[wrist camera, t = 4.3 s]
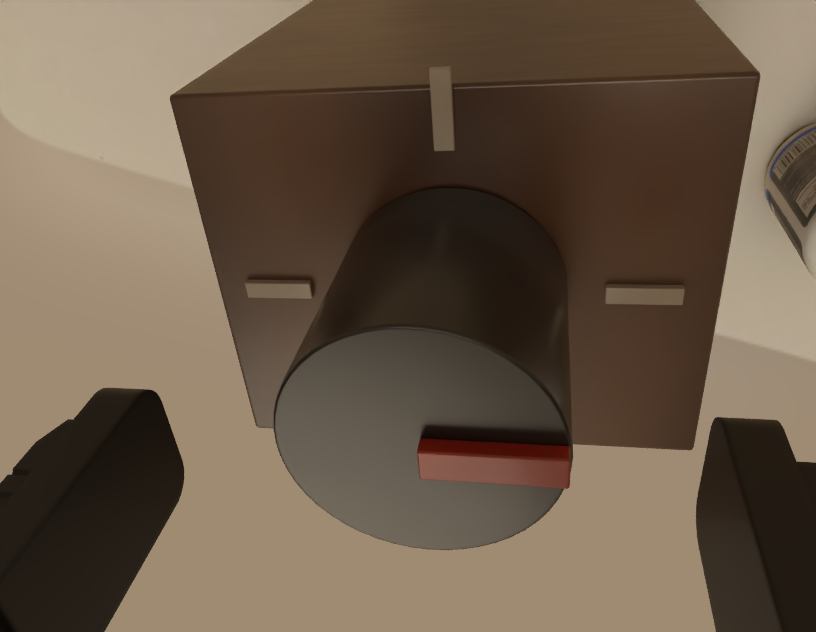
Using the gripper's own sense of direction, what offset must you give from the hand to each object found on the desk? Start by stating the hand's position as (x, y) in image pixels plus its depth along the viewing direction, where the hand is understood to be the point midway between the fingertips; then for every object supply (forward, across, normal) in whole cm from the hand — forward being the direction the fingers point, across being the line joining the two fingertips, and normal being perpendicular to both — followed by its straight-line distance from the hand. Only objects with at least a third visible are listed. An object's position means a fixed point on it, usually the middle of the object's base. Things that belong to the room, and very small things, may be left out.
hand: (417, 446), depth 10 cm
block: (+22, 0, 0) cm, 22 cm away
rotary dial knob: (+4, 0, 0) cm, 4 cm away
